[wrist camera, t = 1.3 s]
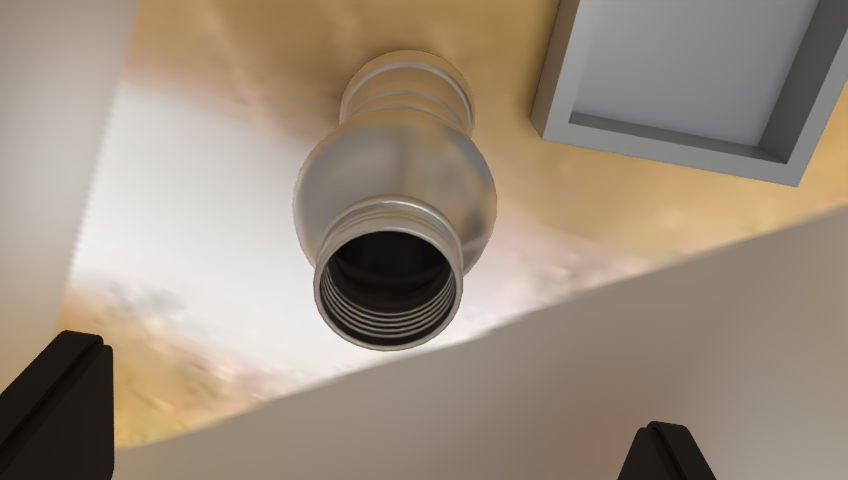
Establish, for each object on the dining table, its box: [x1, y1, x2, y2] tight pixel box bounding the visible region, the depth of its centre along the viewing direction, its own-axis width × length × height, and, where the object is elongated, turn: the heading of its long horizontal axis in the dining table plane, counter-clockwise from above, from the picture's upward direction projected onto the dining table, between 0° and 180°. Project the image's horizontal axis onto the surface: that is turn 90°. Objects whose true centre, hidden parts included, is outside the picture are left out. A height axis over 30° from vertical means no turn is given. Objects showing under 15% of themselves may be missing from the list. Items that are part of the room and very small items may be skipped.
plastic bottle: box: [292, 50, 497, 351], centre depth 25 cm, size 6×7×20 cm
